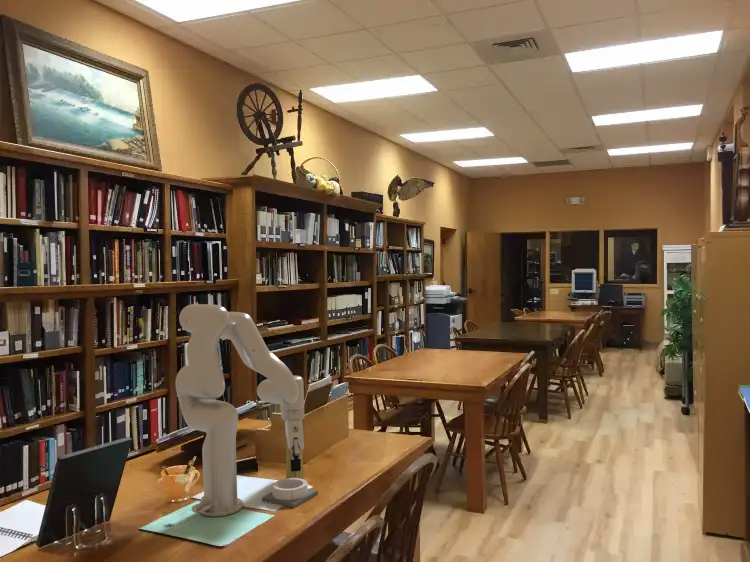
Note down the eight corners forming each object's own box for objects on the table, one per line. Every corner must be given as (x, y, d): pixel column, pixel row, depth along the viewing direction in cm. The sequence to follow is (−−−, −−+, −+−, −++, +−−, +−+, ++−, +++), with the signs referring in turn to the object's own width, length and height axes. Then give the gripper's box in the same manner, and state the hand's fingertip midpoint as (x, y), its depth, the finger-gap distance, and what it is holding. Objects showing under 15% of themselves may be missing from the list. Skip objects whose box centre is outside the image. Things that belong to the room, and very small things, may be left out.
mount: (293, 507, 182) (293, 493, 181) (262, 501, 188) (261, 487, 187) (317, 494, 192) (317, 480, 192) (287, 488, 198) (286, 475, 198)
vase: (295, 483, 202) (293, 439, 202) (281, 479, 206) (280, 436, 205) (308, 477, 207) (306, 435, 207) (294, 474, 211) (293, 432, 210)
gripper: (308, 418, 198) (309, 474, 199) (300, 407, 215) (302, 459, 216) (284, 420, 197) (286, 477, 197) (278, 409, 213) (280, 461, 214)
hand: (294, 467), depth 206 cm, fingers closed on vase, 5 cm apart
